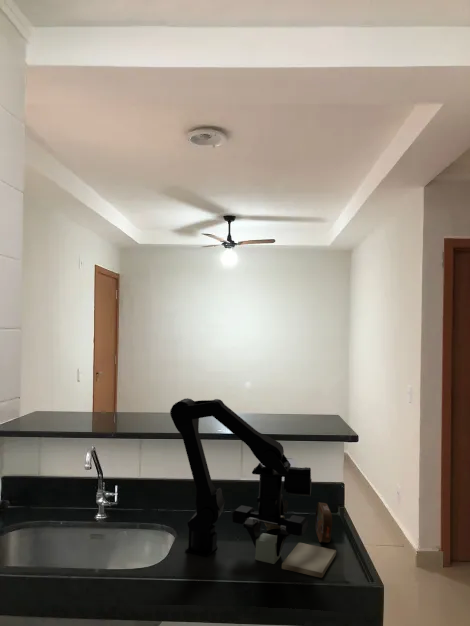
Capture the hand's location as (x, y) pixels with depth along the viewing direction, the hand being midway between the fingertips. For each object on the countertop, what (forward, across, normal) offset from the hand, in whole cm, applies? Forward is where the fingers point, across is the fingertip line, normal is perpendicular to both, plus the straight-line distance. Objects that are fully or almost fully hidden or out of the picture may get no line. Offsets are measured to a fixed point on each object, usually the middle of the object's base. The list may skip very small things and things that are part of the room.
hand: (268, 553), depth 136 cm
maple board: (+1, -10, -3) cm, 10 cm away
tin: (+1, -9, -20) cm, 22 cm away
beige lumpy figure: (+1, +5, -19) cm, 20 cm away
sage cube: (+1, 0, 0) cm, 1 cm away
